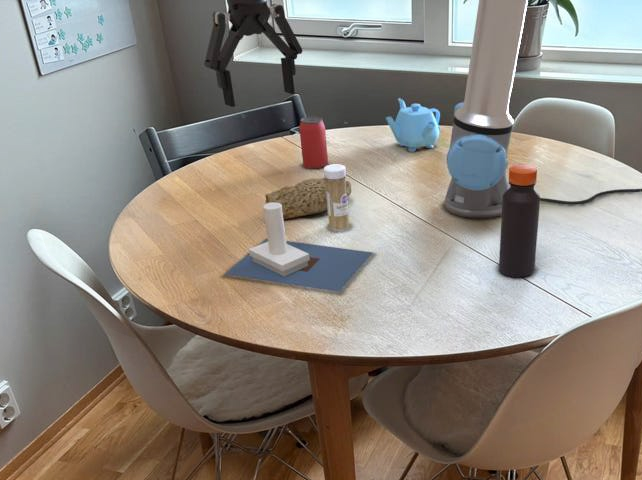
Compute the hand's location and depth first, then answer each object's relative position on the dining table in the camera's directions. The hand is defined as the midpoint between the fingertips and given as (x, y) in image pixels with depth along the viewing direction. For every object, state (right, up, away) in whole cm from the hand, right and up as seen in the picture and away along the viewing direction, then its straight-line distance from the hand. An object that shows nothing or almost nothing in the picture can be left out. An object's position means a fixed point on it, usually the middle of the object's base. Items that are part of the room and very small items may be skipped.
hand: (260, 99), depth 144 cm
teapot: (+31, +8, +58) cm, 66 cm away
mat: (+8, -34, -2) cm, 35 cm away
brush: (+4, -33, -2) cm, 34 cm away
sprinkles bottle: (+14, -23, +13) cm, 30 cm away
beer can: (+5, -1, +46) cm, 46 cm away
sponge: (+7, -18, +21) cm, 29 cm away
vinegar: (+50, -35, -5) cm, 62 cm away
